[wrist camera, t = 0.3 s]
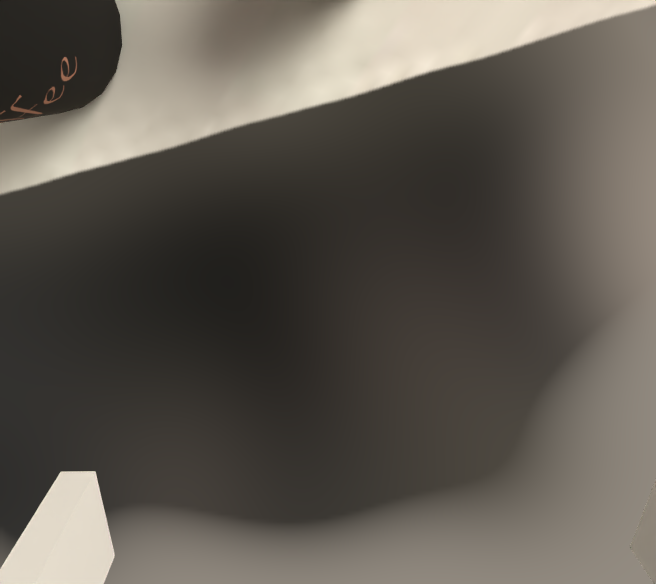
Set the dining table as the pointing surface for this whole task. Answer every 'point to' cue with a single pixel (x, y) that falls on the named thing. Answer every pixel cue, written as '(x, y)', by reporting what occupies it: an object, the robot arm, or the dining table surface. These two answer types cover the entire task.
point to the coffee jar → (55, 54)
